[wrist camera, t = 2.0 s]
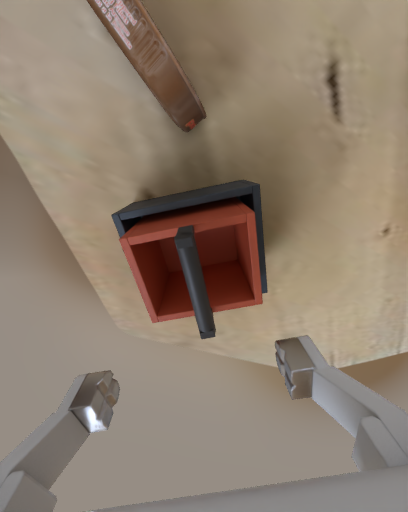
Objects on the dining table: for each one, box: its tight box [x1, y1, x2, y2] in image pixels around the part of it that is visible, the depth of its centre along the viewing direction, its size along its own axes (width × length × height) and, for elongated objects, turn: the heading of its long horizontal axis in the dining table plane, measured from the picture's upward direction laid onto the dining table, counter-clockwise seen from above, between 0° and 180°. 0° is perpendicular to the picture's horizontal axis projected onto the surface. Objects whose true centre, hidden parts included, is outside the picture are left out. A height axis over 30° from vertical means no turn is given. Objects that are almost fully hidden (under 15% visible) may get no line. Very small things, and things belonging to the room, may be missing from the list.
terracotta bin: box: [119, 197, 263, 339], centre depth 20 cm, size 11×9×12 cm
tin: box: [87, 0, 207, 132], centre depth 15 cm, size 15×3×8 cm, turn 37°
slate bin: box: [112, 180, 267, 293], centre depth 24 cm, size 14×12×7 cm
